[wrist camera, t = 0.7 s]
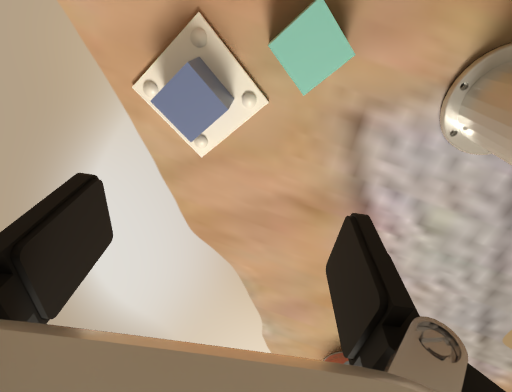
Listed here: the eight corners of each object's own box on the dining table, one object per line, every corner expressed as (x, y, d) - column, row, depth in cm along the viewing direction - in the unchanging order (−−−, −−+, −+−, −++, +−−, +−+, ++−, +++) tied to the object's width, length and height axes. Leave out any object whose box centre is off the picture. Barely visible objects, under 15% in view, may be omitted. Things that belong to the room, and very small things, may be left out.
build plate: (199, 12, 29) (185, 10, 24) (268, 101, 34) (267, 114, 29) (133, 86, 34) (111, 96, 29) (202, 156, 38) (192, 174, 34)
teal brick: (314, -1, 28) (321, -5, 24) (344, 50, 30) (355, 54, 26) (269, 42, 30) (268, 45, 26) (300, 86, 32) (303, 95, 28)
